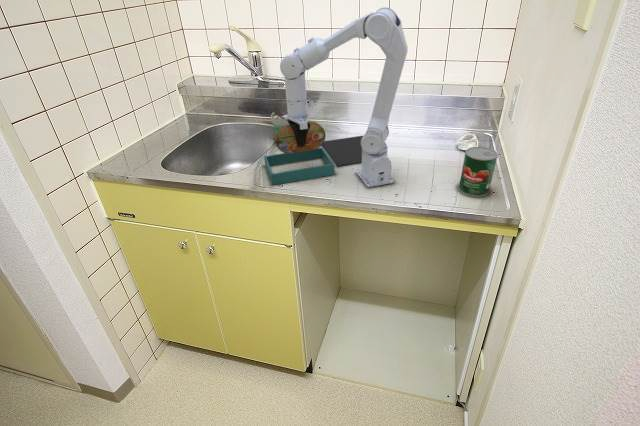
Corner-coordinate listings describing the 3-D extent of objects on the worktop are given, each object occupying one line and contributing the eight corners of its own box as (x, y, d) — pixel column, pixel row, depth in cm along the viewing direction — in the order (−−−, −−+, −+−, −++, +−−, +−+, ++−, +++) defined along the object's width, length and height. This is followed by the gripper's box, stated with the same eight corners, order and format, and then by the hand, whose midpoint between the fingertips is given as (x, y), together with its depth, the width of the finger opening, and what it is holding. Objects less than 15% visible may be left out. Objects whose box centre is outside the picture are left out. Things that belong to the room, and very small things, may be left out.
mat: (384, 159, 122) (384, 158, 122) (337, 166, 119) (337, 165, 119) (362, 136, 138) (362, 135, 138) (320, 143, 135) (320, 141, 135)
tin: (277, 155, 113) (274, 129, 108) (275, 151, 115) (272, 125, 110) (326, 148, 116) (325, 122, 111) (323, 143, 118) (322, 118, 113)
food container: (266, 144, 136) (262, 117, 131) (275, 137, 141) (272, 111, 135) (295, 149, 131) (293, 121, 126) (304, 143, 136) (302, 115, 130)
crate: (334, 174, 115) (334, 164, 113) (272, 185, 111) (270, 174, 109) (322, 156, 125) (322, 147, 124) (265, 166, 122) (264, 156, 120)
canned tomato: (460, 196, 102) (467, 158, 96) (456, 181, 108) (463, 146, 102) (491, 197, 100) (500, 160, 94) (486, 183, 107) (494, 147, 101)
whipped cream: (478, 156, 123) (482, 143, 120) (457, 153, 124) (460, 139, 121) (477, 144, 129) (481, 131, 126) (456, 141, 130) (460, 128, 127)
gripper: (278, 93, 112) (282, 137, 119) (287, 108, 100) (292, 155, 107) (301, 91, 113) (304, 134, 121) (313, 105, 101) (316, 152, 109)
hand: (300, 144), depth 114 cm, fingers closed on tin, 2 cm apart
